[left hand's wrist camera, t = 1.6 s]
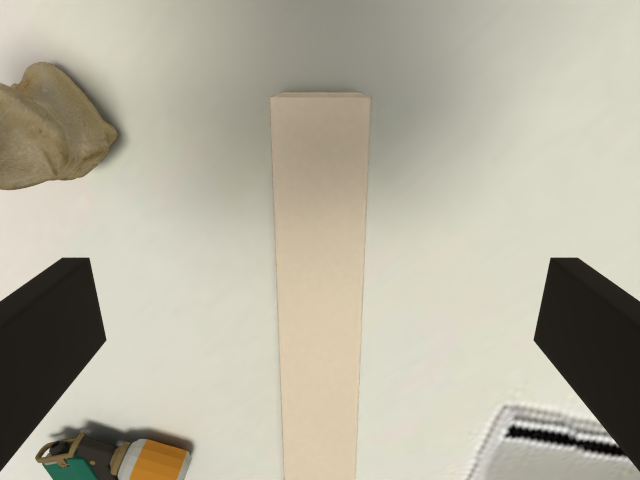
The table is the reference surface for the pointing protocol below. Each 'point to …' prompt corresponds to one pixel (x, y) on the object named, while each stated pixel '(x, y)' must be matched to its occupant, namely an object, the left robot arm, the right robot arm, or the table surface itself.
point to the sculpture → (48, 130)
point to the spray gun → (113, 460)
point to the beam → (320, 274)
